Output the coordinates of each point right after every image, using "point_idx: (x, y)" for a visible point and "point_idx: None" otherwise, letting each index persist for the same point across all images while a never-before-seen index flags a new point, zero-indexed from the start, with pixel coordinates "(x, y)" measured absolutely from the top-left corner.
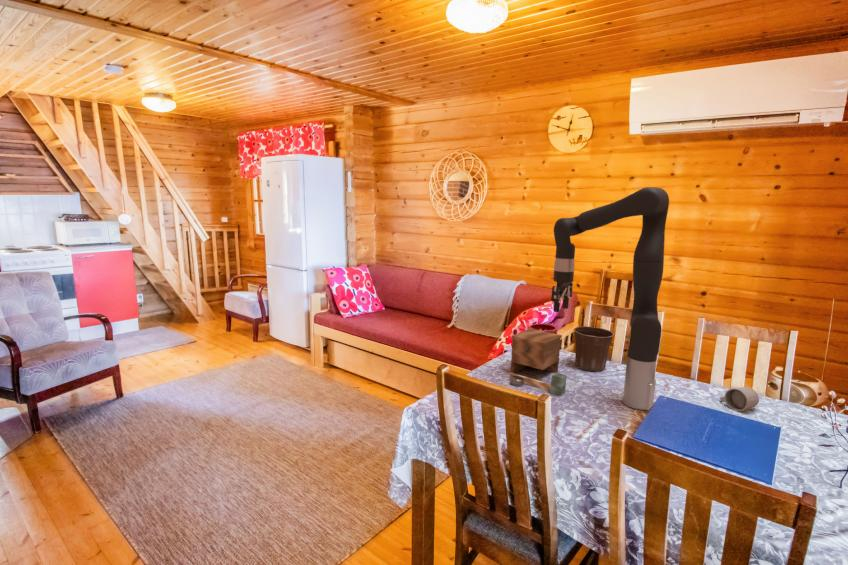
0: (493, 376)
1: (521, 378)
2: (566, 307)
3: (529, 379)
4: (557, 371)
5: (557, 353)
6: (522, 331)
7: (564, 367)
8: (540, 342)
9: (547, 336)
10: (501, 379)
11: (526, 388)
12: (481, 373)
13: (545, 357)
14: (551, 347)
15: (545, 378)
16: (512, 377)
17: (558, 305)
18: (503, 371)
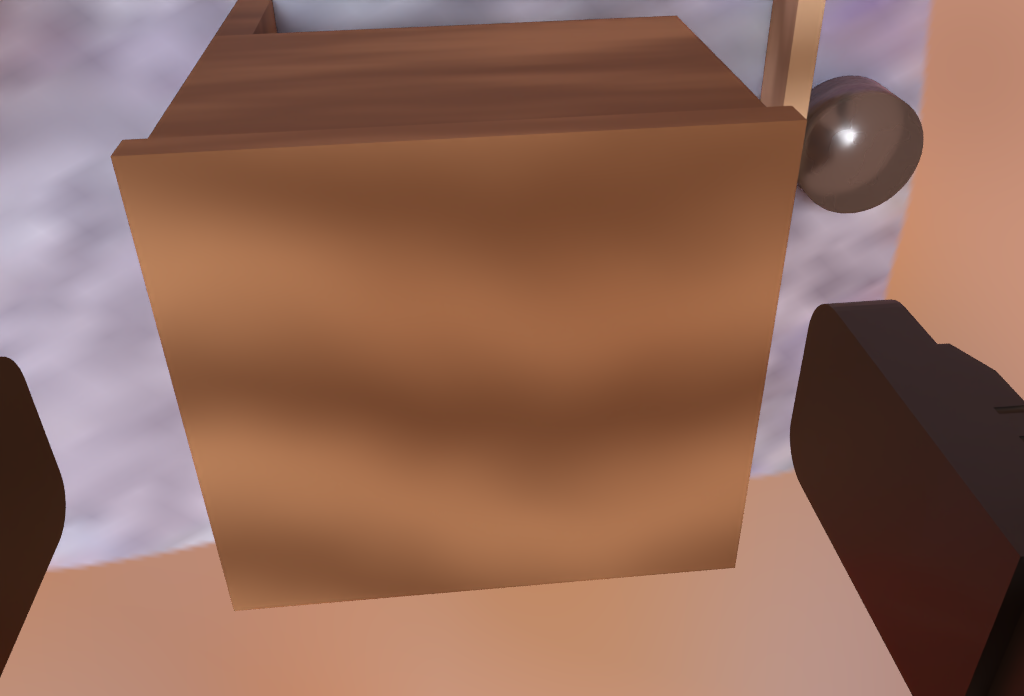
0: (787, 350)
1: (840, 124)
2: (5, 415)
3: (814, 56)
4: (251, 1)
5: (261, 65)
6: (450, 590)
7: (39, 13)
8: (794, 196)
9: (397, 280)
10: (811, 276)
11: (888, 14)
12: (783, 436)
13: (657, 59)
14: (493, 101)
15: (521, 6)
16: (861, 196)
17: (1020, 486)
18: None
